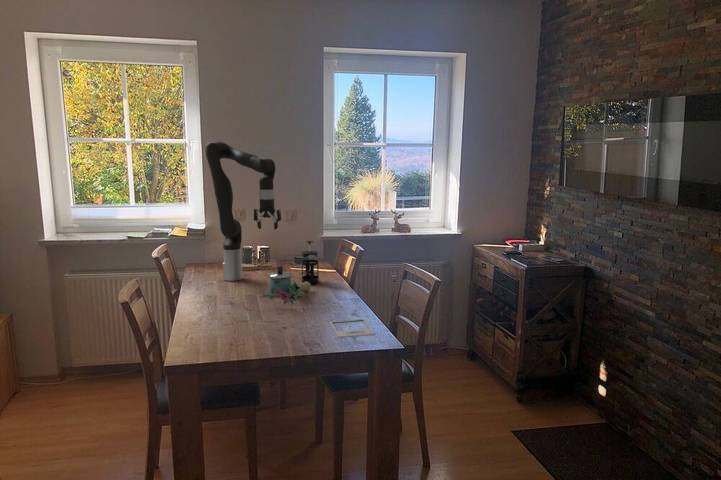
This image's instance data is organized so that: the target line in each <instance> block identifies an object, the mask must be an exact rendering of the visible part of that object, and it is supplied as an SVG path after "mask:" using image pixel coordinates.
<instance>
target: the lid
mask: <svg viewBox="0 0 721 480" xmlns="http://www.w3.org/2000/svg"><path fill="white" fill-rule="evenodd" d="M283 268H284V267H283V265H277V271H273V272H270V273H269V274H268V277H269V279H270V278H273V279H284V278H289V277H290V278H291V277H292V273H291V272H289V271H284V269H283Z"/></svg>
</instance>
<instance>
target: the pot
mask: <svg viewBox="0 0 721 480" xmlns="http://www.w3.org/2000/svg"><path fill="white" fill-rule="evenodd" d="M269 281H270V284H269V285H270V288H269V289H268V290H266V291H265V292H264V293H262V297H269V298H270V296H272V295H273V296H274V298H280V294H278V295H276V294H271V293H272V292H274V291H275V288H276V289H277V288H278V289H279V288H280V290H283V291H281V292H285V294H286V293H288V294H289V295H288V296H290V297H289V299H291V297H292V296H293V295H295V294H294V293H293V292H290V291H291V290H290V289H289V287H288V286H289V284H291V285H292V283H291V282H292V281H291V277H289V278H284V279H273V278H270V277H269ZM277 283H279V285H281V284H283V286H282V287H277ZM289 292H290V293H291V294H290V293H289Z"/></svg>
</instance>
